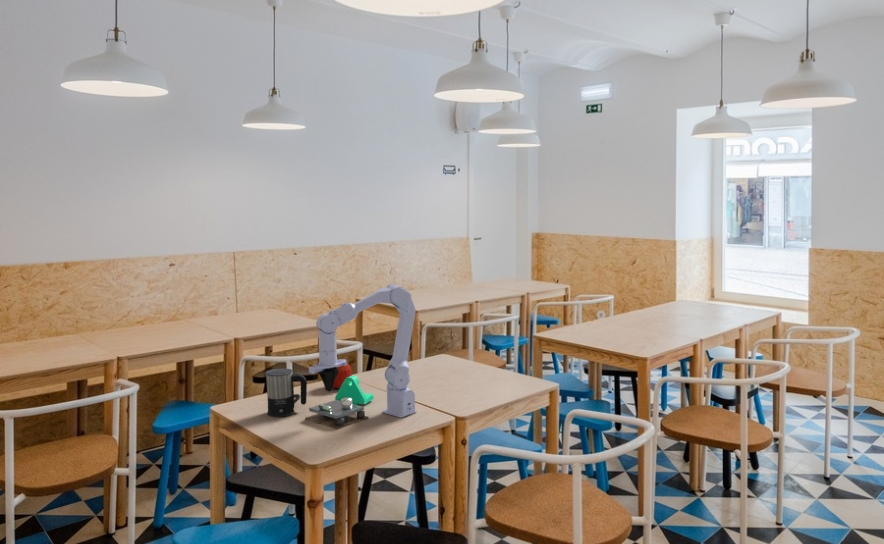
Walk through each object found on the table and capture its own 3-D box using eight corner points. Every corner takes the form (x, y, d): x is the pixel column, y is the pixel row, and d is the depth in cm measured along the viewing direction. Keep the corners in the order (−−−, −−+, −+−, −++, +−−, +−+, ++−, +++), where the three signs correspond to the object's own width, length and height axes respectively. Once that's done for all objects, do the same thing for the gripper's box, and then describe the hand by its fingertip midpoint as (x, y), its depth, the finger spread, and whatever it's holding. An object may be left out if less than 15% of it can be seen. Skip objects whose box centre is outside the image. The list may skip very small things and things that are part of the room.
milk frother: (271, 419, 224) (270, 376, 222) (257, 407, 237) (255, 366, 236) (311, 411, 232) (310, 370, 230) (295, 400, 245) (294, 361, 243)
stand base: (369, 418, 223) (368, 410, 223) (337, 429, 213) (336, 421, 212) (337, 409, 234) (336, 401, 234) (305, 419, 223) (304, 411, 223)
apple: (325, 385, 266) (324, 356, 264) (350, 383, 268) (350, 355, 267) (326, 392, 256) (326, 362, 255) (353, 390, 258) (352, 360, 257)
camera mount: (374, 401, 244) (373, 373, 243) (364, 407, 237) (363, 378, 236) (345, 398, 248) (345, 371, 247) (335, 403, 241) (334, 376, 240)
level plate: (364, 409, 223) (363, 398, 223) (336, 418, 214) (336, 406, 214) (336, 402, 232) (336, 391, 232) (309, 411, 223) (308, 399, 223)
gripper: (336, 345, 227) (337, 383, 228) (302, 352, 216) (303, 393, 217) (350, 347, 222) (351, 387, 224) (316, 355, 211) (317, 397, 213)
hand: (329, 390), depth 220 cm, fingers closed
